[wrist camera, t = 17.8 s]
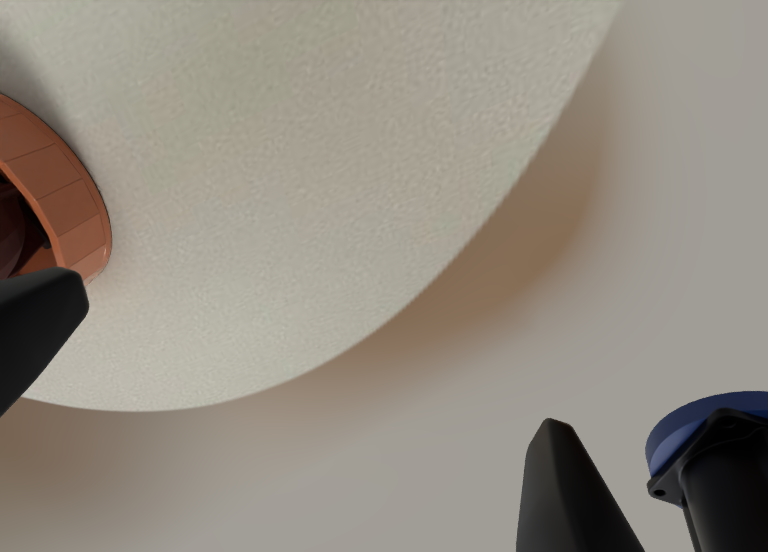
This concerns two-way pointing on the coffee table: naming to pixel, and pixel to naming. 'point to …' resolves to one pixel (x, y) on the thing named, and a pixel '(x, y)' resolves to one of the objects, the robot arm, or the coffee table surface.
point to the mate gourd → (17, 231)
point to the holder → (54, 193)
